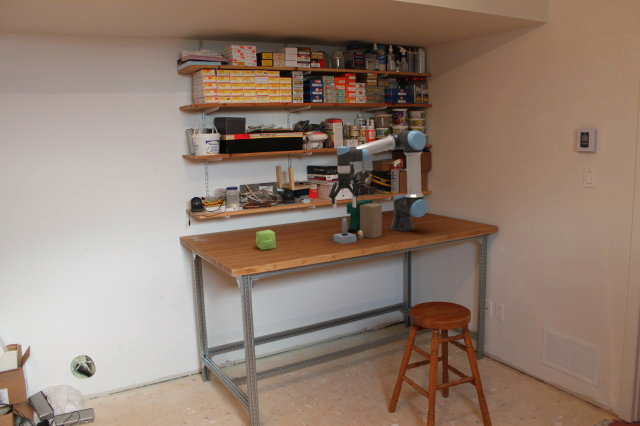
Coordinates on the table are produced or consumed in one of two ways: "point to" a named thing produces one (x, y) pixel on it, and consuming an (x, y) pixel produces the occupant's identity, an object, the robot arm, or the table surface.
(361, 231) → the short pin
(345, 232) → the long pin
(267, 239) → the green block
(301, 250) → the table surface
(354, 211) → the power tool
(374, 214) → the wooden block
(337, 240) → the grey flat block
